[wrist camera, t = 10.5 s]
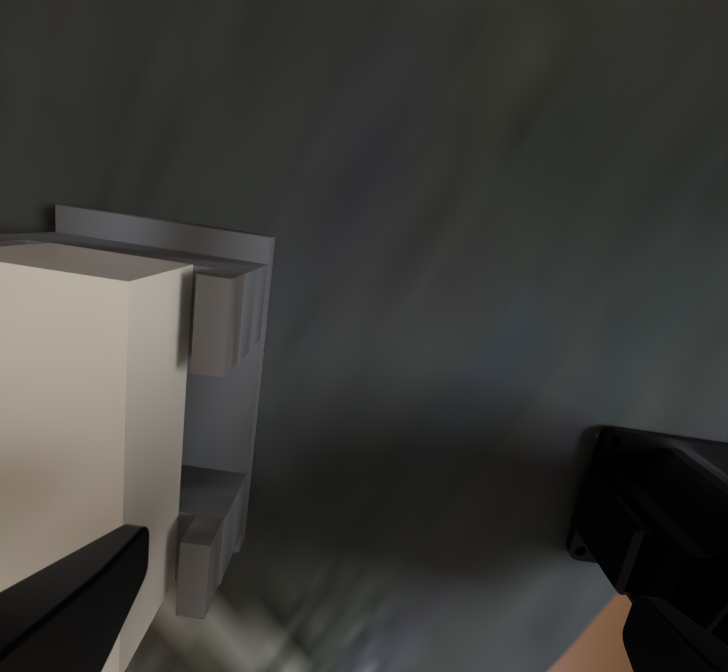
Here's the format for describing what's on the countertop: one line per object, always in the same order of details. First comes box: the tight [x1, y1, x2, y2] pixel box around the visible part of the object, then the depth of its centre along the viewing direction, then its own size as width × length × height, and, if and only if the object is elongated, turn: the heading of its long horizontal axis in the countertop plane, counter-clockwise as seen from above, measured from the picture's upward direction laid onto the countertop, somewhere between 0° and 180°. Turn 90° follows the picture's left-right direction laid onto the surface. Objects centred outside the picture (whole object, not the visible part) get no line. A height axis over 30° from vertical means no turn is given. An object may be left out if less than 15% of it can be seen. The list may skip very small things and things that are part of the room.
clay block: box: [0, 243, 193, 672], centre depth 14 cm, size 4×12×4 cm, turn 171°
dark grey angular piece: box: [0, 204, 275, 619], centre depth 17 cm, size 8×14×6 cm, turn 171°
